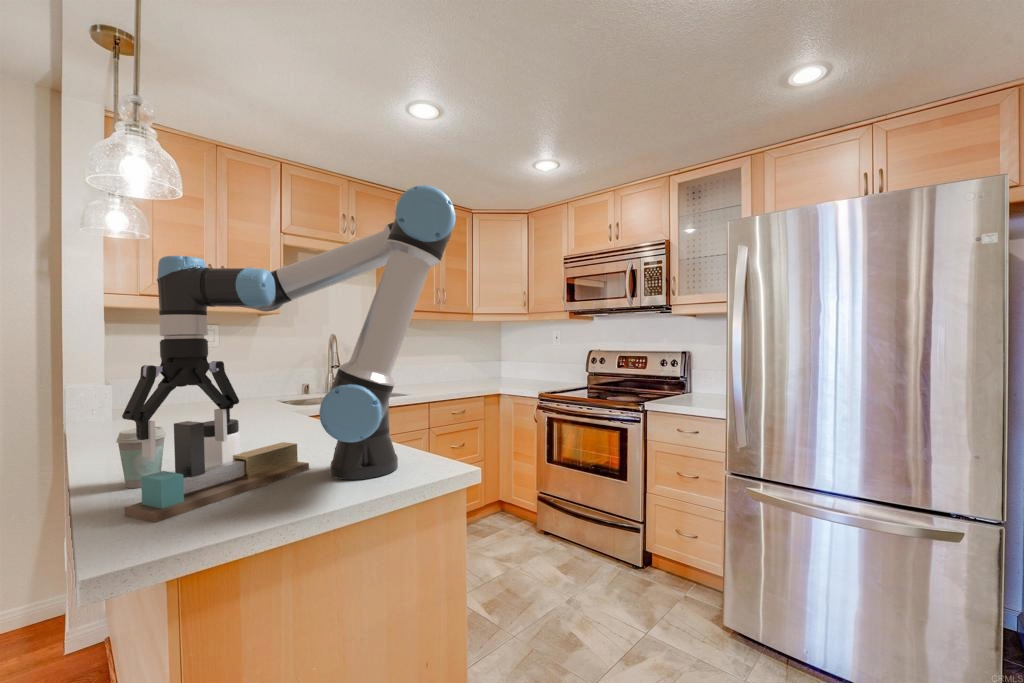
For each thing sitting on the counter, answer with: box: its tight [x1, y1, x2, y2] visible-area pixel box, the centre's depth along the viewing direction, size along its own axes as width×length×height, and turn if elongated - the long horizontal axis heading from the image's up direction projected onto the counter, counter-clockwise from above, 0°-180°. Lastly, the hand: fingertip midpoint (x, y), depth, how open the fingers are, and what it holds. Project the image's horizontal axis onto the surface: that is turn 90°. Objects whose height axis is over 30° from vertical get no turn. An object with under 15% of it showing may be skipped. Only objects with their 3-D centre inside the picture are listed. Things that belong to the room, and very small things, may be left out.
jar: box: [203, 418, 241, 468], centre depth 107 cm, size 9×8×12 cm
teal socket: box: [141, 470, 184, 509], centre depth 83 cm, size 4×6×5 cm, turn 67°
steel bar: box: [173, 420, 246, 494], centre depth 91 cm, size 20×5×13 cm, turn 157°
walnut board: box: [123, 461, 310, 523], centre depth 95 cm, size 33×9×2 cm, turn 157°
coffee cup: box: [115, 426, 167, 489], centre depth 100 cm, size 9×8×12 cm
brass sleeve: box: [233, 441, 299, 480], centre depth 103 cm, size 13×5×5 cm, turn 157°
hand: (187, 448), depth 87 cm, fingers open, 12 cm apart
